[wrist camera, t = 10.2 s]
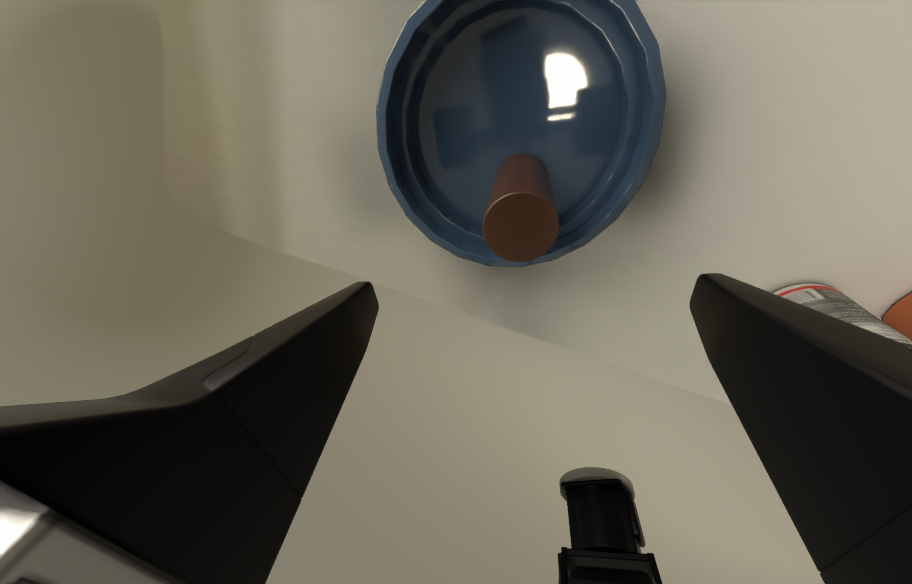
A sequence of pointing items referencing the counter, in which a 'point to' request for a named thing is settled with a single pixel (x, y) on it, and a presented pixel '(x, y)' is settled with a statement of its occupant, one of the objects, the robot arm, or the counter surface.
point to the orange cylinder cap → (901, 316)
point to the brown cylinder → (521, 210)
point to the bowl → (519, 113)
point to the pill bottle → (839, 308)
